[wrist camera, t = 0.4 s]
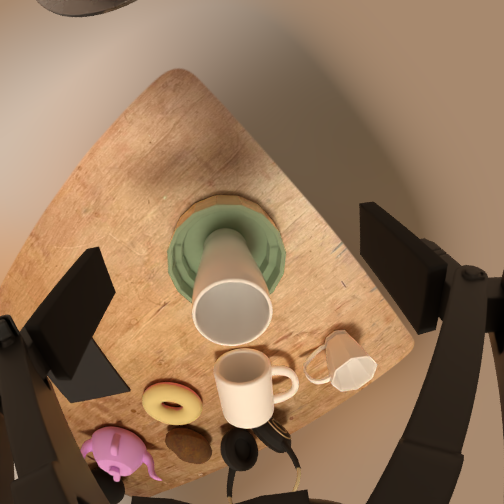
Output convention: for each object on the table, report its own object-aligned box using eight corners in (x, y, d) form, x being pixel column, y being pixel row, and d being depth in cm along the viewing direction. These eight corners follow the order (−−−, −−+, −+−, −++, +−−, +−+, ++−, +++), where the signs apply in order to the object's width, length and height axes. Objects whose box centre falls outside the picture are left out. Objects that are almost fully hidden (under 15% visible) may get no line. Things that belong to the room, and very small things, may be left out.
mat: (25, 345, 43) (25, 346, 42) (84, 325, 42) (83, 327, 42) (71, 401, 48) (70, 403, 48) (130, 389, 48) (130, 391, 48)
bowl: (155, 217, 38) (148, 230, 33) (258, 178, 38) (264, 187, 33) (196, 304, 43) (195, 326, 38) (289, 272, 43) (298, 290, 38)
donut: (160, 363, 49) (137, 399, 50) (154, 378, 44) (131, 415, 45) (213, 392, 50) (186, 425, 51) (212, 408, 46) (184, 441, 47)
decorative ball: (118, 483, 61) (114, 514, 52) (82, 468, 58) (76, 500, 49) (133, 472, 59) (129, 506, 50) (94, 456, 56) (87, 491, 46)
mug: (222, 395, 50) (224, 432, 43) (212, 351, 46) (213, 389, 39) (293, 384, 51) (304, 420, 44) (292, 339, 47) (305, 375, 40)
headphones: (297, 415, 55) (323, 505, 36) (237, 447, 57) (248, 532, 39) (269, 396, 51) (292, 496, 33) (207, 431, 54) (212, 524, 35)
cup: (360, 347, 50) (379, 379, 42) (303, 370, 50) (316, 405, 42) (354, 315, 47) (375, 347, 39) (292, 339, 47) (305, 376, 40)
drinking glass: (260, 260, 41) (284, 330, 27) (210, 279, 41) (212, 357, 28) (240, 212, 38) (257, 265, 25) (188, 233, 39) (176, 296, 25)
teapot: (79, 428, 51) (69, 461, 43) (127, 415, 50) (120, 453, 42) (116, 458, 56) (111, 489, 48) (164, 447, 55) (162, 482, 47)
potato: (180, 416, 51) (179, 443, 46) (221, 436, 55) (223, 462, 49) (159, 430, 53) (157, 456, 47) (199, 449, 56) (200, 474, 50)
